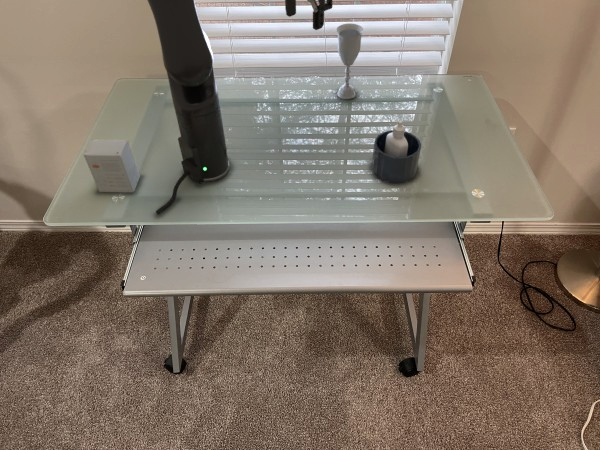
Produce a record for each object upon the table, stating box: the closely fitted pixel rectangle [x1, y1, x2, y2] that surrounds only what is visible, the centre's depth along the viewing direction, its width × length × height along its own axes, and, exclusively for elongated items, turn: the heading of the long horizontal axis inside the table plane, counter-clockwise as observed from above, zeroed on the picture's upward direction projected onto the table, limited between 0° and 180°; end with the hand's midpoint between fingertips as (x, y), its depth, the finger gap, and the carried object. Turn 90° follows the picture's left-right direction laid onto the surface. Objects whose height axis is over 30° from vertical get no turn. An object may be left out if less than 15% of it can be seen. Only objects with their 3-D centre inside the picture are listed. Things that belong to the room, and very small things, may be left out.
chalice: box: [335, 23, 364, 100], centre depth 131 cm, size 7×7×18 cm
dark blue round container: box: [371, 129, 422, 184], centre depth 113 cm, size 10×10×7 cm
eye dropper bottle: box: [384, 120, 408, 157], centre depth 111 cm, size 4×6×12 cm
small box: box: [83, 139, 141, 193], centre depth 109 cm, size 8×6×10 cm
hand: (304, 21), depth 105 cm, fingers open, 8 cm apart
